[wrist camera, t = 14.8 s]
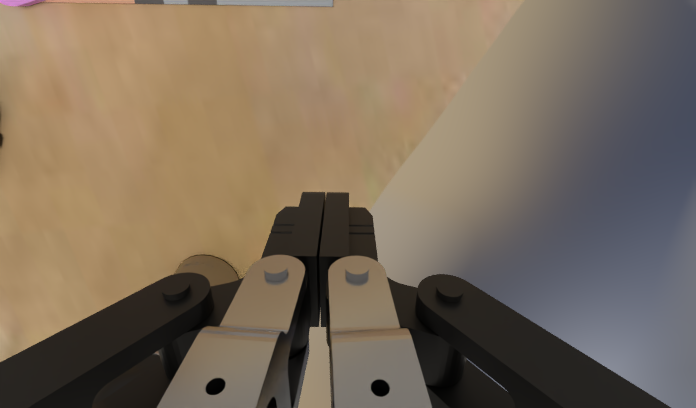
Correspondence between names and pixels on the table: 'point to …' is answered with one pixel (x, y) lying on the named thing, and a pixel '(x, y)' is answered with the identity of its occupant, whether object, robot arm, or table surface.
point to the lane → (213, 2)
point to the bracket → (20, 2)
